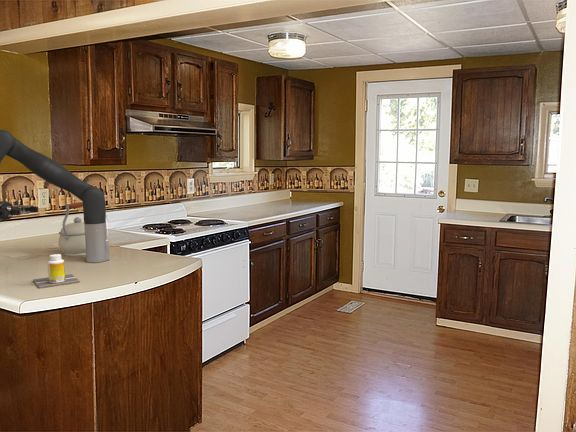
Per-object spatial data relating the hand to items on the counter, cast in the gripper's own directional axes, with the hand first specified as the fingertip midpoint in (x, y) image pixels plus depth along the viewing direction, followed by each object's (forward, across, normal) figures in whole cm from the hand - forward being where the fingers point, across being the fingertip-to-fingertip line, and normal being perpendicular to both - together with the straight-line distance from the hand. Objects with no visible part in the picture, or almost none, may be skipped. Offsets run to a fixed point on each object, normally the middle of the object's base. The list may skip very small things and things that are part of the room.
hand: (28, 210), depth 198 cm
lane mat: (+12, -2, +27) cm, 30 cm away
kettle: (-20, +47, +27) cm, 58 cm away
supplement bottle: (+15, -4, +26) cm, 31 cm away
